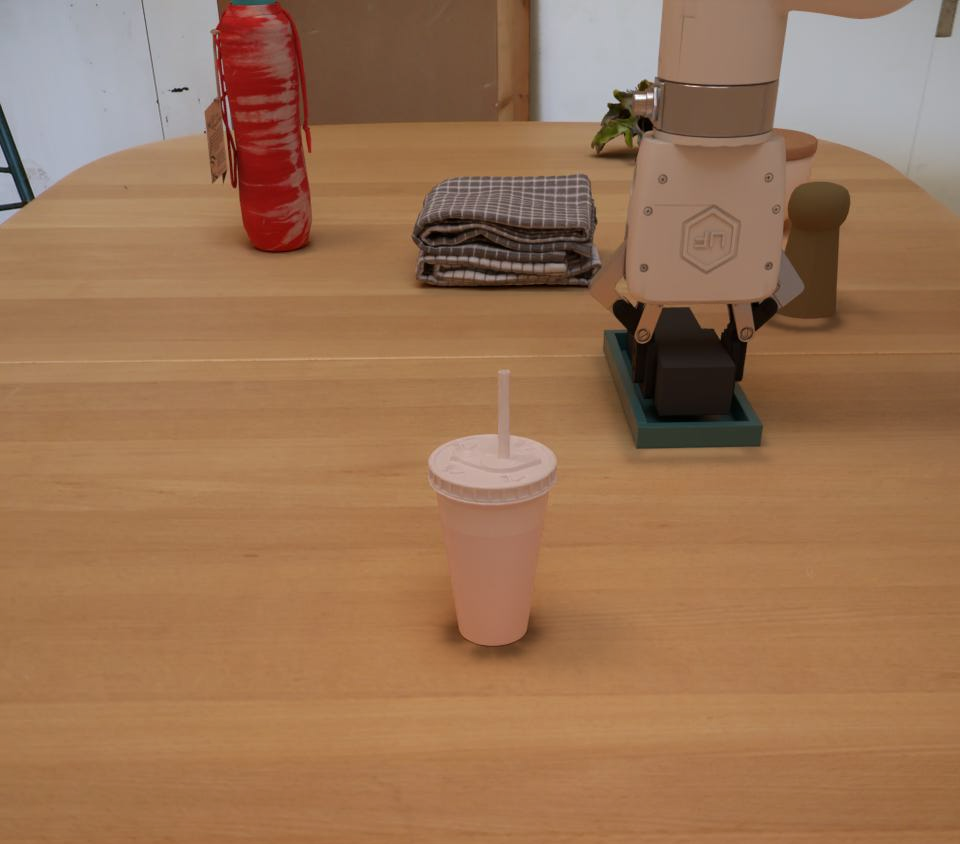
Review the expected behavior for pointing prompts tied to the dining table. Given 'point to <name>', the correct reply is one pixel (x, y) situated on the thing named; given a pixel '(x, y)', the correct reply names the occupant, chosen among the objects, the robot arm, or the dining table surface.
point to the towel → (507, 231)
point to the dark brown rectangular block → (668, 323)
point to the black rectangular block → (692, 373)
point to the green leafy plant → (623, 120)
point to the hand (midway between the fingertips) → (685, 389)
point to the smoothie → (493, 523)
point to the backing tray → (677, 430)
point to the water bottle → (262, 122)
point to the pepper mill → (815, 246)
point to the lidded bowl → (797, 159)
